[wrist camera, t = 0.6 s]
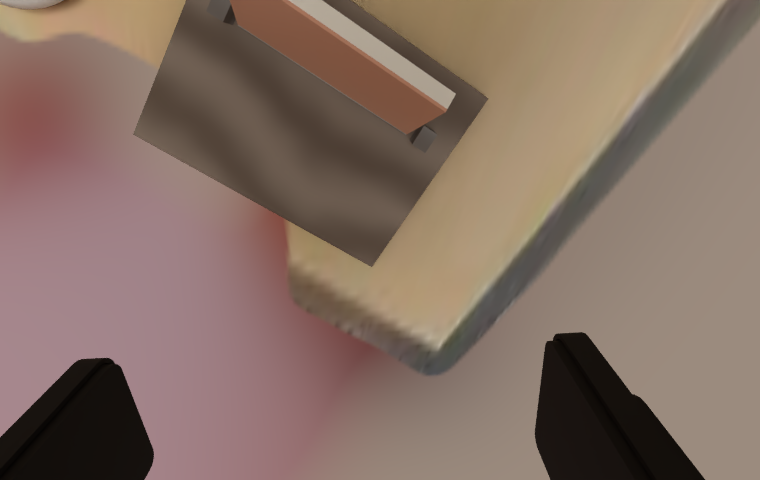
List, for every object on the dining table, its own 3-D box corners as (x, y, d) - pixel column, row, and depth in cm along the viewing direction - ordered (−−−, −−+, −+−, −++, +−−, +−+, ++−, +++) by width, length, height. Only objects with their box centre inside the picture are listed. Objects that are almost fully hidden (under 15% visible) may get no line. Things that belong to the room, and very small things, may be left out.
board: (227, -86, 28) (210, -104, 25) (485, 97, 33) (496, 100, 30) (139, 132, 34) (117, 139, 31) (371, 262, 38) (371, 278, 35)
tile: (226, -67, 20) (213, -46, 20) (455, 93, 24) (445, 112, 23) (247, 14, 30) (239, 29, 29) (411, 122, 33) (404, 136, 33)
